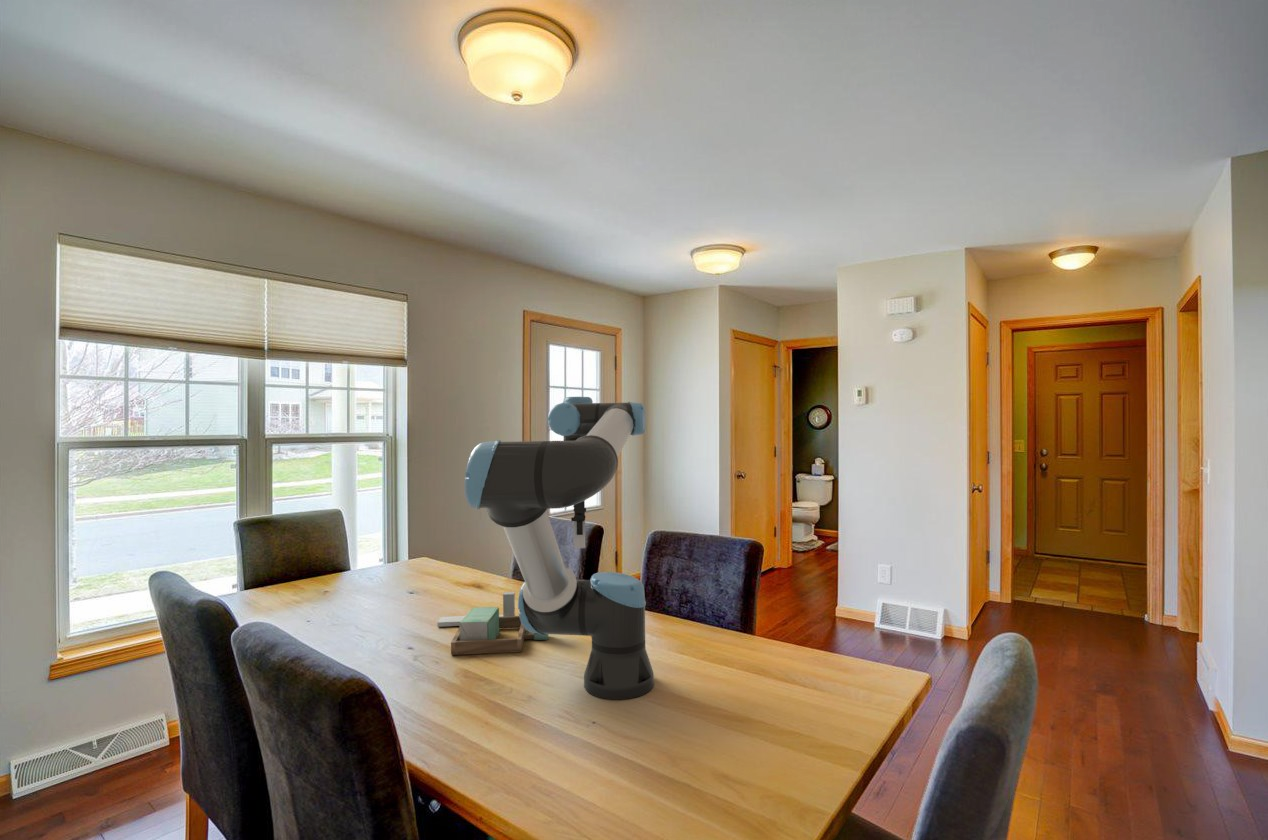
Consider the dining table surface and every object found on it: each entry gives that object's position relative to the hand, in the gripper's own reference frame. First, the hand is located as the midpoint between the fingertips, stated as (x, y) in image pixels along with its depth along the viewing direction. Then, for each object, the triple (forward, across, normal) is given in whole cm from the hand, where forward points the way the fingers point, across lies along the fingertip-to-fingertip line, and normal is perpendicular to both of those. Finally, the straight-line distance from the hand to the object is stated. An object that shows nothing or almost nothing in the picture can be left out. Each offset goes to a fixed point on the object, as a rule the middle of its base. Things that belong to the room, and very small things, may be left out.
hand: (579, 542), depth 153 cm
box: (+27, +9, +26) cm, 39 cm away
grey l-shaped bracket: (+26, +24, +29) cm, 46 cm away
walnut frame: (+26, +9, +20) cm, 34 cm away
